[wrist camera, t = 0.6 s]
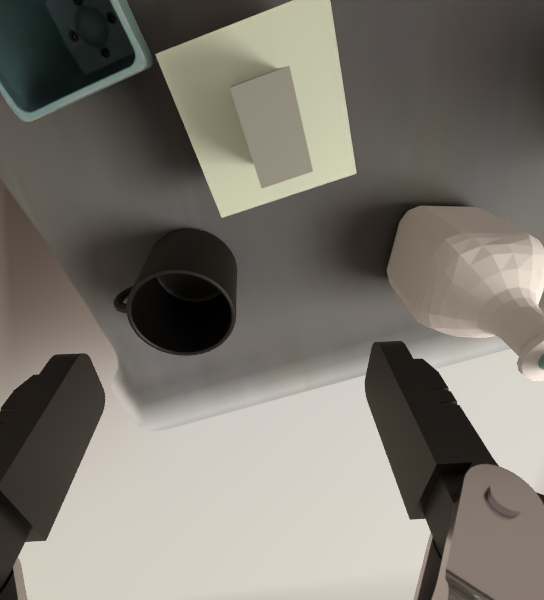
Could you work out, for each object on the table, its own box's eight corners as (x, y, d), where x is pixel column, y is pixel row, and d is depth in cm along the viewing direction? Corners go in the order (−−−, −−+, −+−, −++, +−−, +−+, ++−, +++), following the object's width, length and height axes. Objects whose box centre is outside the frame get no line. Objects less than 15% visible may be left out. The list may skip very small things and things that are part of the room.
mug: (112, 237, 34) (76, 282, 27) (228, 221, 34) (225, 262, 27) (142, 310, 39) (119, 365, 32) (242, 297, 39) (243, 349, 32)
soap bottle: (485, 201, 35) (771, 346, 16) (454, 280, 40) (641, 458, 22) (398, 200, 34) (592, 350, 15) (377, 280, 40) (503, 465, 21)
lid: (320, -7, 21) (361, -51, 14) (348, 166, 27) (387, 199, 20) (161, 55, 22) (123, 44, 15) (222, 208, 28) (216, 253, 21)
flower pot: (-3, -23, 23) (-118, -71, 16) (108, -83, 22) (41, -165, 15) (80, 112, 28) (22, 125, 20) (174, 69, 27) (149, 66, 19)
